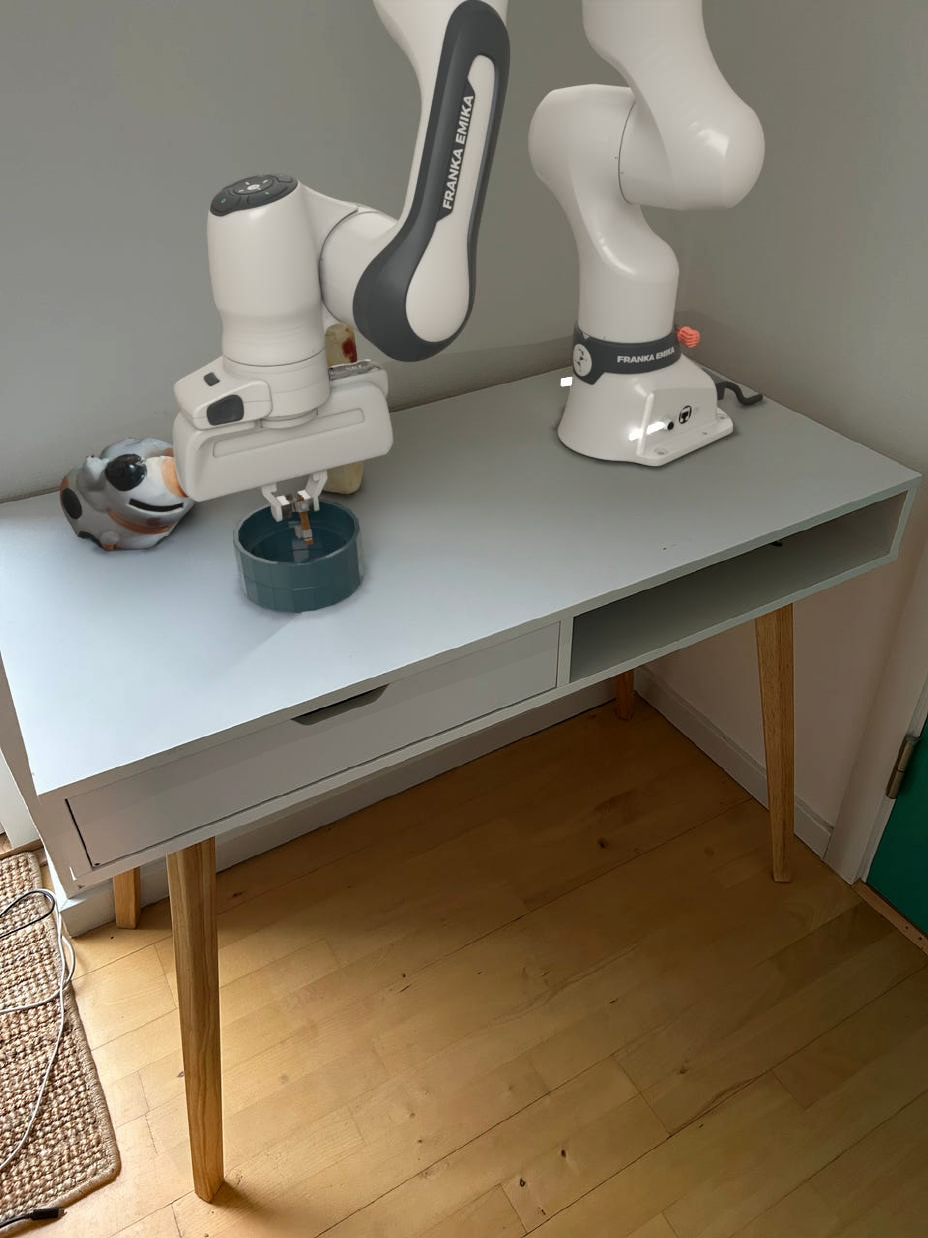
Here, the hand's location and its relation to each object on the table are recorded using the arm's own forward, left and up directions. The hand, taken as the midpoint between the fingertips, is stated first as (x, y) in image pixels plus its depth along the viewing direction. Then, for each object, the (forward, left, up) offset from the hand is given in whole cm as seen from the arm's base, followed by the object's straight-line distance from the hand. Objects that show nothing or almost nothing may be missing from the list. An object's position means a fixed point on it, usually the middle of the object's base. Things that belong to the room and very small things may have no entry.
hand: (295, 513), depth 95 cm
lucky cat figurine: (+11, -18, -8) cm, 23 cm away
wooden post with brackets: (0, 0, -2) cm, 2 cm away
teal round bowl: (0, 0, -8) cm, 8 cm away
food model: (-11, -17, -8) cm, 22 cm away
